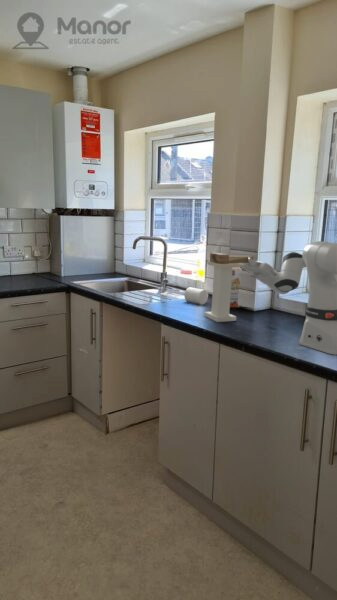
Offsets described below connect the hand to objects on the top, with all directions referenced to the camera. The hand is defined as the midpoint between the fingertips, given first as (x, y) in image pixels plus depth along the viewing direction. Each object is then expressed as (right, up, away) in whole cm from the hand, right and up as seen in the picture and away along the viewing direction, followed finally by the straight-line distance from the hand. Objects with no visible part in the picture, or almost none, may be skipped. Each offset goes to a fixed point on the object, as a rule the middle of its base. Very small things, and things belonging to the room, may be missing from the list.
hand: (244, 258), depth 209 cm
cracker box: (-2, -23, +29) cm, 37 cm away
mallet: (-6, -2, -2) cm, 7 cm away
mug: (-19, -21, +36) cm, 46 cm away
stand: (-12, -28, +1) cm, 30 cm away
